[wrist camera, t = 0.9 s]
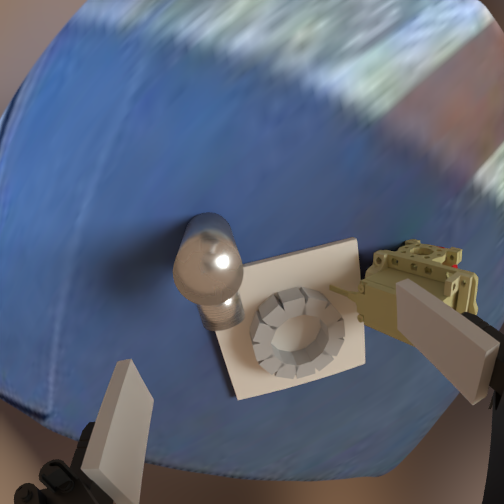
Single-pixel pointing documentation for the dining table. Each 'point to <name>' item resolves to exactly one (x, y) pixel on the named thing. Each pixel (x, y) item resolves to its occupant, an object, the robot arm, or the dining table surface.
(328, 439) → the dining table surface
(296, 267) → the plate
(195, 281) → the elbow
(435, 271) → the mechanical component
